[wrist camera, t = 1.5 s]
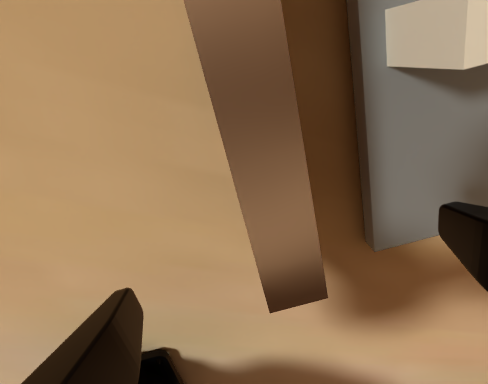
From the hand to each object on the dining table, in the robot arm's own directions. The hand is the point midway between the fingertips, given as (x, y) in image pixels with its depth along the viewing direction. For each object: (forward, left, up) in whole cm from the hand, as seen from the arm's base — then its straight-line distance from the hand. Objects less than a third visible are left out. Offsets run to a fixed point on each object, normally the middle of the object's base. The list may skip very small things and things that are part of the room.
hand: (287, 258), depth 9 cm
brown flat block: (+5, 0, -7) cm, 8 cm away
